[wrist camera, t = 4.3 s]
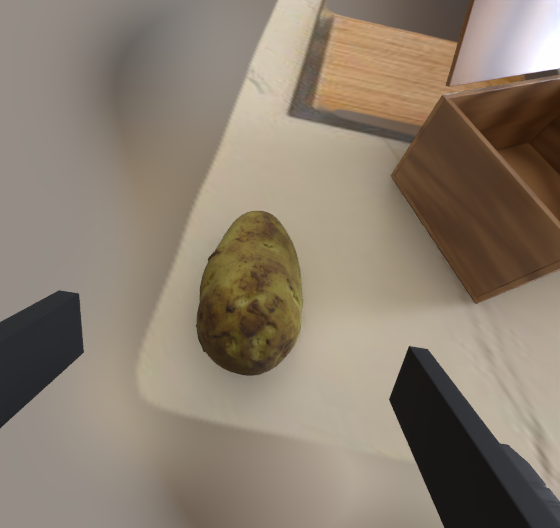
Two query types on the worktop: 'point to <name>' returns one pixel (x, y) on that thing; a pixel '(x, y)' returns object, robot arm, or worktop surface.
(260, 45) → the worktop surface
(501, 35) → the flap
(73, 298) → the robot arm
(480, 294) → the wooden box
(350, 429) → the worktop surface
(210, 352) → the potato
